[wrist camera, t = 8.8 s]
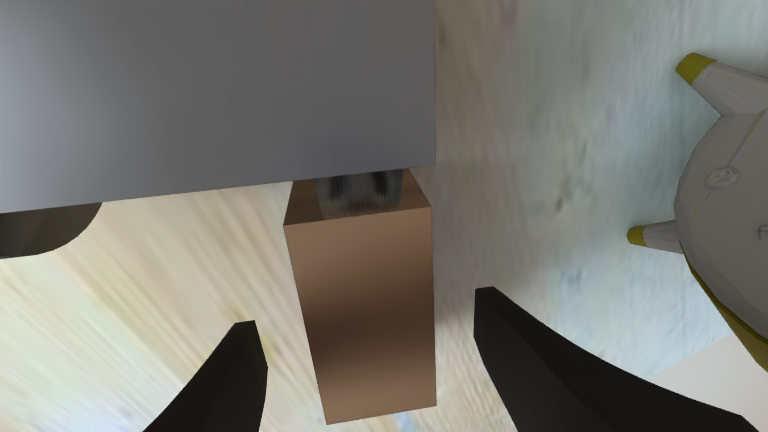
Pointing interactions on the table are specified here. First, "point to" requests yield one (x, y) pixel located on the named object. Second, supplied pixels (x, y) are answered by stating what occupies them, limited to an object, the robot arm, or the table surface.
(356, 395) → the block
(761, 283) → the alarm clock
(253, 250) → the table surface
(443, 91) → the table surface
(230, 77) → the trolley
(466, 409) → the table surface
